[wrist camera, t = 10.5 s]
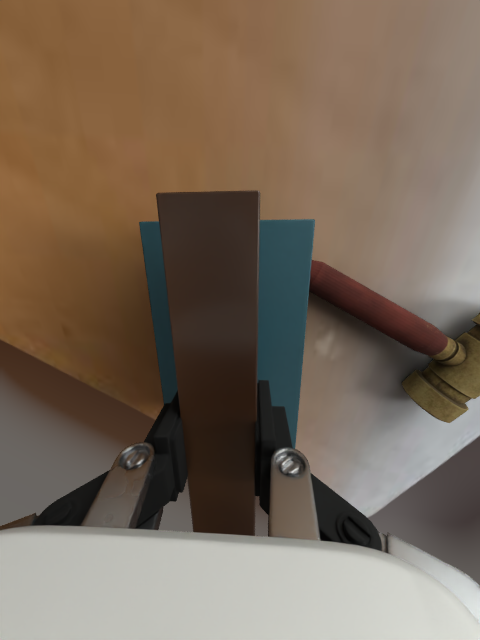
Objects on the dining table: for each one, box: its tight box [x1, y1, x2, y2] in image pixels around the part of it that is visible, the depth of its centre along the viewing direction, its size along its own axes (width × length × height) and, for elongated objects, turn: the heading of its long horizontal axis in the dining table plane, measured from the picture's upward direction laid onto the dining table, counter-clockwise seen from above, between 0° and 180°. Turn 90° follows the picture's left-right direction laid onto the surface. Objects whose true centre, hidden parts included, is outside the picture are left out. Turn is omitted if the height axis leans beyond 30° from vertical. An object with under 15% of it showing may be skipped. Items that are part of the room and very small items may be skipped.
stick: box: [156, 191, 260, 536], centre depth 11 cm, size 3×19×3 cm, turn 0°
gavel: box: [309, 260, 480, 423], centre depth 19 cm, size 21×5×10 cm
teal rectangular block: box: [139, 219, 315, 449], centre depth 18 cm, size 9×18×8 cm, turn 0°
